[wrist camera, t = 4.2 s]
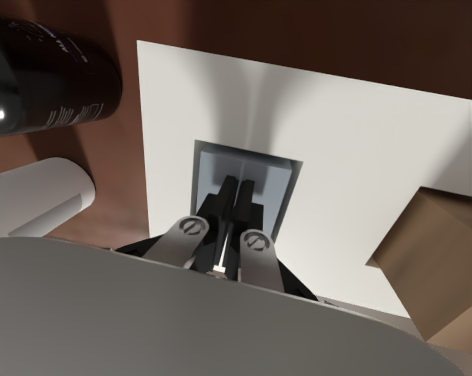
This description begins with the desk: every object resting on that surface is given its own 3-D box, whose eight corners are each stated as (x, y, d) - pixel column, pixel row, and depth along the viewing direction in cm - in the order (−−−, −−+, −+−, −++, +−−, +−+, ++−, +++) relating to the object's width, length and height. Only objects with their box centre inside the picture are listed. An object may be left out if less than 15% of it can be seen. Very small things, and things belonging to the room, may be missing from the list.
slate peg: (283, 141, 16) (292, 170, 10) (269, 192, 18) (269, 240, 13) (225, 129, 16) (200, 151, 11) (217, 181, 19) (195, 223, 13)
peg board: (503, 117, 15) (724, 145, 7) (399, 250, 21) (463, 331, 14) (195, 61, 16) (136, 40, 9) (188, 202, 23) (151, 254, 16)
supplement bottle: (114, 34, 16) (-189, -69, 5) (131, 121, 19) (-39, 162, 9) (41, 33, 17) (-346, -59, 6) (69, 116, 20) (-155, 149, 9)
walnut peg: (487, 197, 12) (699, 304, 6) (433, 256, 14) (546, 372, 8) (401, 180, 12) (523, 265, 6) (362, 240, 14) (425, 341, 9)
